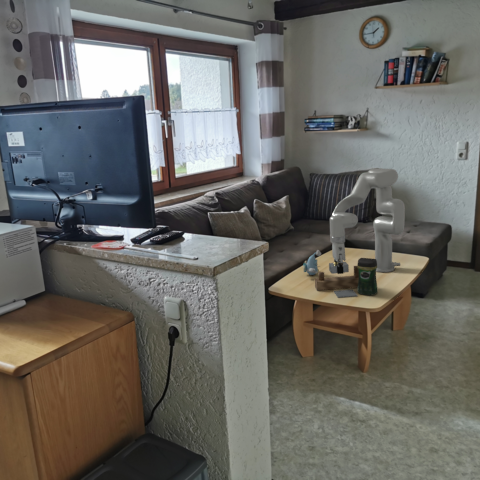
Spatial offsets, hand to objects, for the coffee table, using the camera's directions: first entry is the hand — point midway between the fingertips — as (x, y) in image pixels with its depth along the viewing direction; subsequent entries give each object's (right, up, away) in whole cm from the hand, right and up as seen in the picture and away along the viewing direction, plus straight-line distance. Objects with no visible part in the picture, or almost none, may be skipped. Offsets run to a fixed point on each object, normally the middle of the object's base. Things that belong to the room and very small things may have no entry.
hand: (338, 271), depth 260 cm
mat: (+2, -11, -9) cm, 14 cm away
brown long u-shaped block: (+1, -9, +2) cm, 9 cm away
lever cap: (0, 0, 0) cm, 0 cm away
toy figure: (-10, -4, +26) cm, 28 cm away
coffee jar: (+13, -11, -10) cm, 19 cm away
